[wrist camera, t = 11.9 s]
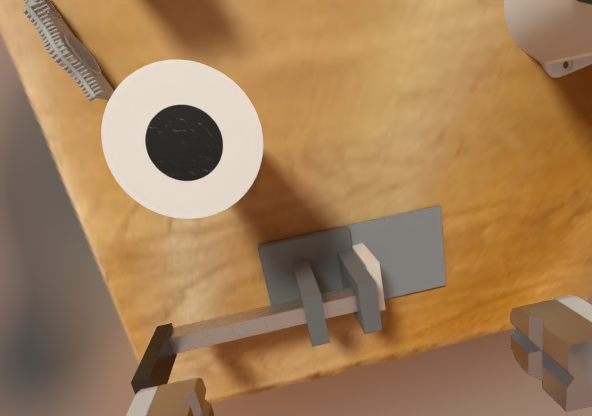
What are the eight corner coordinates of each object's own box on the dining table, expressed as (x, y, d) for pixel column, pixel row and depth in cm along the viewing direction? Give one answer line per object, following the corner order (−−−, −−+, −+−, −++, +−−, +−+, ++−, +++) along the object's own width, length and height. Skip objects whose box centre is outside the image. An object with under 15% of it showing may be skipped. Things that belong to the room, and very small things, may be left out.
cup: (170, 78, 38) (101, 45, 21) (264, 93, 40) (272, 74, 23) (165, 171, 41) (100, 210, 24) (254, 181, 43) (254, 225, 25)
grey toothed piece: (32, -1, 35) (-11, -24, 30) (46, -11, 35) (6, -35, 29) (108, 103, 39) (83, 101, 33) (122, 95, 38) (99, 91, 33)
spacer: (362, 243, 46) (379, 262, 40) (368, 285, 48) (385, 309, 42) (351, 245, 46) (366, 265, 40) (357, 287, 48) (372, 312, 41)
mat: (438, 205, 46) (440, 206, 46) (444, 283, 50) (446, 285, 49) (346, 225, 45) (347, 226, 45) (358, 303, 49) (359, 305, 48)
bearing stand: (346, 225, 45) (372, 256, 35) (358, 303, 49) (385, 352, 39) (257, 244, 45) (258, 281, 35) (276, 322, 48) (281, 377, 38)
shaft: (354, 281, 40) (380, 323, 32) (358, 305, 41) (384, 352, 33) (157, 326, 38) (130, 382, 30) (165, 350, 39) (141, 411, 31)
